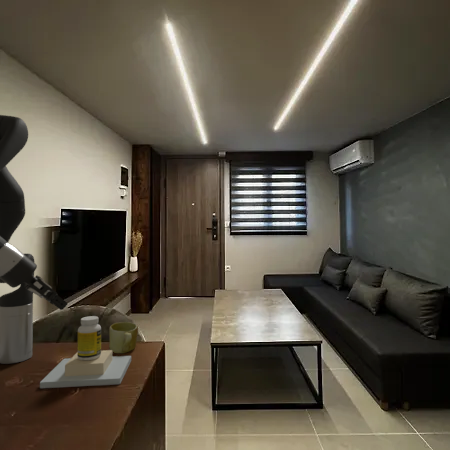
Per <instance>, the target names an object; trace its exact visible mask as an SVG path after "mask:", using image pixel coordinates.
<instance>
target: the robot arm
mask: <svg viewBox="0 0 450 450" xmlns="http://www.w3.org/2000/svg"><path fill="white" fill-rule="evenodd" d="M28 138H29V129H28V125H27V124H26V122H25V121H24V119H22V118H20V117H17V116H12V115H6V114H5V115H4V114H0V284H6V285H8V286H9V287H10V288H12V289H13V288H17V289H15V290H13V291H10V292H8V293H5V294H2V295H0V364H2V365H3V364H5V365H8V364H16V363H19V362H24V361H27V360H28V359H30V358H32V357H33V348H34V347H33V339H34V337H33V333H34V332H33V329H34V328H33V327H34V325H33V324H34V323H33V322H34V321H33V319H34V317H33V316H34V315H33V314H34V311H33V310H34V309H33V308H34V295H37V296H38V298H41V299H44V300H46V301H47V302H48V303H50V304H51V305H54V306H55V307H56V308H58V309H59V310H60V311H63V310H64V309H65V308H66V307H67V306H68V302H67V301H66V300H65V299H63V298H62V297H61V296H59V295H58V293H57V291H55V290H54V289H53V287H52V286H51V285H49V283H47V282H45V280H44V278H43V277H41V276H39V275H38V274H37V275H35V271H36V270H37V268H38V265H37V264H36V262H35V258H34V256H33V255H32V254H31V253H23V252H22V251H21V250H20V249H18V248H17V247H16V246H14V245H12V244H11V243H9V242H10V240H11V237H12V236H13V235H14V233H15V232H16V230H17V228H19V226H20V224H21V223H22V221H23V220H24V218H25V215H26V204H25V203H26V202H25V193H24V191H23V189H22V187H21V185H20V184H19V182H18V181H17V180H16V178H15V177H14V176H13V175H12V173H11V172H10V171H9V169H8V167H7V165H8V164H9V163H10V162H12V160H13V159H14V158H15V157H16V156H17V155H18V154H19V153H20V152H21V151H22V150H23V149H24V148H25V146H26V144H27V142H28V140H29V139H28Z"/></svg>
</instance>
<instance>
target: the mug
mask: <svg viewBox="0 0 450 450" xmlns="http://www.w3.org/2000/svg"><path fill="white" fill-rule="evenodd" d="M138 327H139V326H138V325H137V324H136V323H135V322H134V323H133V322H130V321H120V322H119V321H117V322H114V323H113V324H111V325H110V326H109V330H108V332H109V333H108V335H109V345H108V348H109V349H108V350H112V353H113V352H114V353H113V354H126V353H128V352H131V351H133V350H134V349H136V346H137V340H138V333H139V328H138Z"/></svg>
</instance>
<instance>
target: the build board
mask: <svg viewBox="0 0 450 450" xmlns="http://www.w3.org/2000/svg"><path fill="white" fill-rule="evenodd" d="M77 354H78V351H77V352H76V353H75V354H73V356H72V357H70V358H63V359H62V360H61V361H60V362H59V363H58V364H57V365H56V366H55V367H54V368H53V369H51V371H50V372H49V373H48V374H47V375H46V376H45V377H44V378H43V379H42V380H40V382H39V389H52V388H53V389H54V388H71V387H72V388H73V387H75V388H76V387H87V386H88V387H90V386H92V387H93V386H110V385H112V386H113V385H121V383H122V381H123V380H124V379H123V378H124V377H125V375H126V373H127V370H128V368H129V366H130V364H131V362H132V355H121V356H120V355H119V356H118V355H116V356H113V352H112V350H110V349H107V350H104V349H103V350H101V355H100V357H98V358H96V359H94V360H88V361H82V360H79V359H78V355H77Z"/></svg>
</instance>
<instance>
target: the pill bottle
mask: <svg viewBox="0 0 450 450" xmlns="http://www.w3.org/2000/svg"><path fill="white" fill-rule="evenodd" d="M101 351H102V327H101V325H100V324H99V317H98V316H96V315H92V316H91V315H89V316H88V315H87V316H85V317H82V318H80V326H79V327H78V328H77V352H78V354H77V355H78V359H79V360H82V361H88V360H94V359H96V358H98V357H100V355H101Z"/></svg>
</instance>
